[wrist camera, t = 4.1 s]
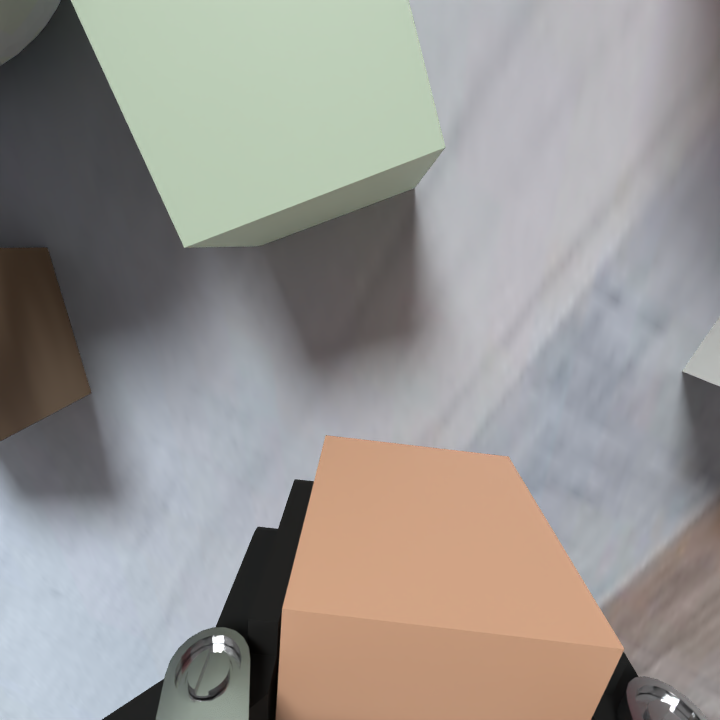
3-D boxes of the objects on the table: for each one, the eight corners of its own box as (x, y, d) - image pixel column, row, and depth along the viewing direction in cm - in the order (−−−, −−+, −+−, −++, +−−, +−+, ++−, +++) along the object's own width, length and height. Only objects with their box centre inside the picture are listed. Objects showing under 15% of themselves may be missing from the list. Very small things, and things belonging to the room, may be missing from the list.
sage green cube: (188, 68, 10) (34, -81, 6) (359, -9, 10) (346, -250, 5) (260, 246, 12) (184, 247, 7) (414, 188, 11) (445, 147, 6)
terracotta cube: (325, 435, 10) (282, 608, 5) (508, 456, 10) (624, 648, 5) (313, 575, 12) (271, 803, 7) (471, 593, 12) (536, 835, 7)
